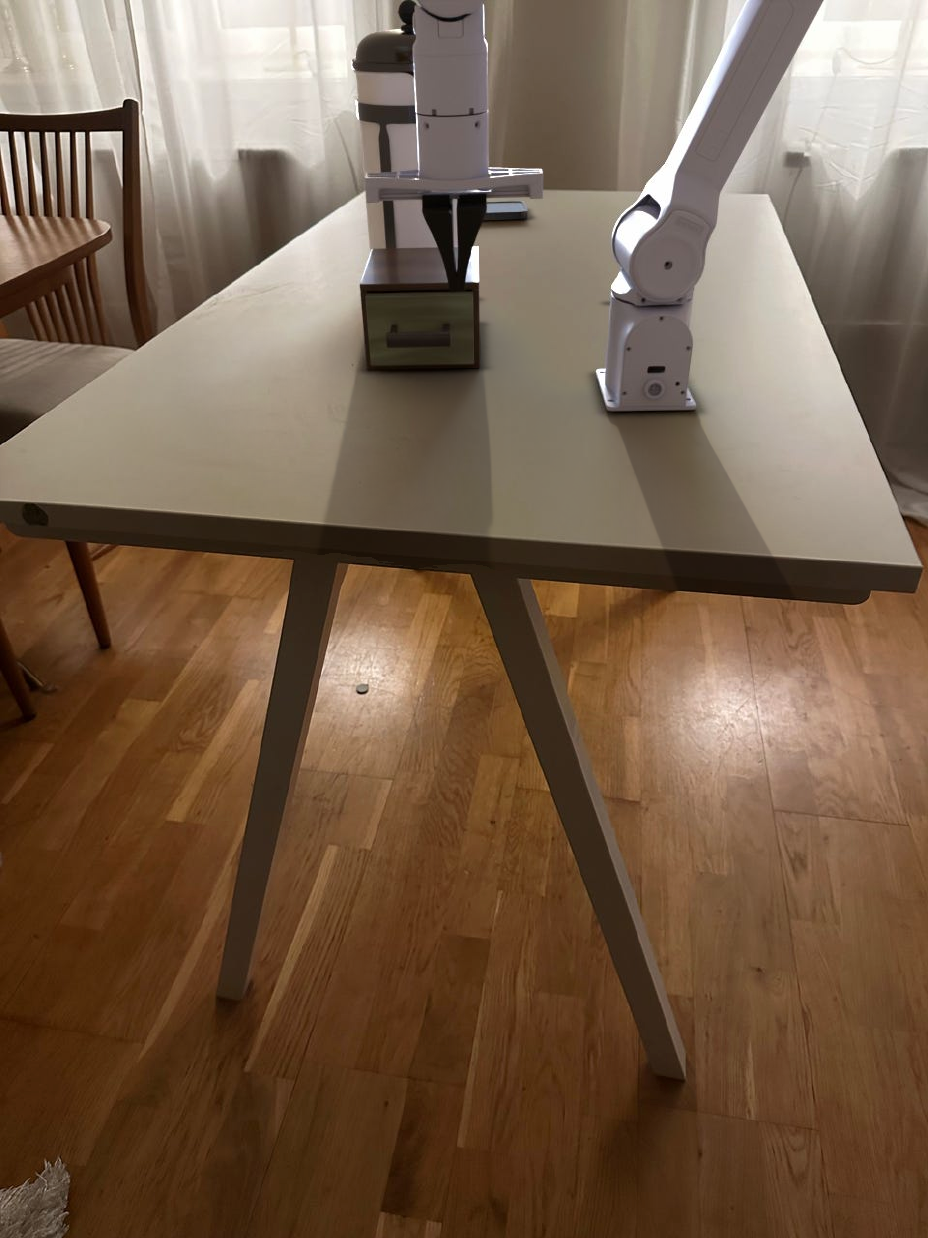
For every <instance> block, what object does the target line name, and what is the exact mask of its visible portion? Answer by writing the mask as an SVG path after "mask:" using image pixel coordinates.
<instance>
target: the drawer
mask: <svg viewBox="0 0 928 1238" xmlns="http://www.w3.org/2000/svg"><path fill="white" fill-rule="evenodd" d="M365 299H366V311H367V323H368V335H369V347H370V360H371V366H388V365H447V364H474V328H473V292H468V290H465V291H464V292H449V290H421V291H374V293H370V294H366V297H365Z"/></svg>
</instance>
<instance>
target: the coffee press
mask: <svg viewBox="0 0 928 1238" xmlns="http://www.w3.org/2000/svg"><path fill="white" fill-rule="evenodd" d="M415 5H418V4H417V3H416V1H415V0H403V1H402V2H401V3H400V4H399V6H398V11H397V14H398V17H399V20H400V21H401V22H402V23H403V24H402V25H401V26H400V28H397V29H385V30H378V31H374V32H372V33H369V34H367V35H366V36H364V37H363V38H362V39H361V40H360V41H359V43H358V44H357V46H356V49H355V56H354V58H352V59H351V61H350V63H351V69H352V71H353V73H354V74H355V79H356V91H357V99H356V100H355V105H356V117H357V119H358V120H359V129H360V142H361V143H360V144H361V152H362V153H361V155H362V167H363V168H362V169H363V180H364V178H365V176H366V174H367V173H385V172H397V171H408V170H419V164H418V144H417V123H416V105H415V85H414V64H413V44H414V42H415V41H416V35H415V34H414V31H413V13H415ZM363 182H364V183H365V180H364V181H363ZM465 191H470V190H465ZM431 192H439V191H431ZM364 194H365V196H366V192H365V191H364ZM365 205H366V206H365V207H366V218H367V220H366V221H367V231H368V244H369V255H370V254H371V251H372V249H380V248H432V247H437V244H436V242H435V239H434V237H433V235H432V233H431V231H430V229H429V227H428V225H427V223H426V221H425V218H424V216H423V213H422V200H396V201H380V202H379V203H366V202H365ZM453 221H454V247H458V236H457V199H453Z"/></svg>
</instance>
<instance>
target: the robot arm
mask: <svg viewBox="0 0 928 1238" xmlns="http://www.w3.org/2000/svg"><path fill="white" fill-rule="evenodd" d="M416 1H417V3H418V4H419V5H418V4H417V5H415V13H413V31H414V34H415V35H416V41H415V42H414V44H413V64H414V85H415V105H416V123H417V144H418V164H419V170H408V171H397V172H385V173H367V174H366V176H365V178H364V177H363V180H365V182H364V193H365V192H366V195H365V204H366V203H379V202H380V201H396V200H422V213H423V216H424V218H425V221H426V223H427V225H428V227H429V229H430V231H431V233H432V235H433V237H434V239H435V242H436V244H437V247H438V249H439V252H440V255H441V258H442V261H443V264H444V267H445V271H446V275H447V280H448V286H449V292H464V291H465V281H466V274H467V269H468V264H469V260H470V256H471V252H472V249H473V247H475V242H476V240H477V236H478V234H479V231H480V229H481V227H482V224H483V222H484V221H485V220H484V217H485V214H486V211H487V202H488V199H509V198H510V199H515V198H516V199H517V198H529V199H530V200H542V199H543V198H544V171H543V169H542V168H510V167H509V168H508V167H489V166H490V160H489V159H490V156H489V155H490V154H489V152H490V151H489V149H490V148H489V147H490V146H489V140H490V139H489V58H488V57H489V56H488V55H489V54H488V53H489V52H488V50H489V49H488V48H489V46H488V42H487V40H486V39H485V4H484V1H485V0H416ZM824 1H825V0H746V1H745V3H744V5H743V7H742V9H741V11H740V13H739V15H738V17H737V19H736V21H735V23H734V26H733V27H732V29H731V31H730V34H729V35H728V37H727V39H726V41H725V43H724V45H723V47H722V49H721V51H720V53H719V55H718V57H717V60H716V62H715V64H714V65H713V68H712V70H711V71H710V74H709V76H708V77H707V79H706V81H705V84H704V85H703V88H702V90H701V91H700V94H699V95H698V97H697V100H696V102H695V103H694V106H693V108H692V109H691V111H690V114H689V115H688V118H687V119H686V122H685V124H684V126H683V127H682V130H681V132H680V134H679V136H678V138H677V140H676V142H675V144H674V146H673V148H672V150H671V151H670V154H669V155H668V158H667V160H666V162H665V164H664V165H663V166H662V167H661V168H660V169H659V170H658V171H657V172H656V173H655V174H654V175H653V176H652V177H651V178H650V179H649V180H648V182H646V185H645V187H644V189H643V191H642V193H641V194H640V196H639V197H638V199H637V200H636V202H635V203H633V205H631V206H630V207H628V208H627V209H626V210H624V212H623V213H621V215H620V216H619V218H618V219H617V220H616V222H615V225H614V227H613V229H612V233H611V238H610V245H611V247H610V248H611V253H612V255H613V257H614V260H615V262H616V263H617V264H618V266H620V267H621V268H620V271H619V273H618V275H617V277H616V278H615V279H614V281H613V283H612V284H611V288H610V301H609V302H610V303H609V304H610V305H609V314H608V315H609V317H608V328H607V340H606V341H607V342H606V346H607V347H606V354H605V355H606V356H605V368H598V369H596V371H595V375H596V378H597V383H598V386H599V389H600V392H601V396H602V398H603V399H602V400H603V402H604V405H605V408H606V410H607V411H608V412H649V411H651V412H652V411H657V412H658V411H659V412H660V411H661V412H662V411H694V410H696V409H697V403H696V401H695V399H694V397H693V395H692V393H691V391H690V389H689V381H690V380H689V379H690V373H691V364H692V358H693V349H694V337H693V334H692V331H691V327H690V325H691V318H692V312H693V311H692V310H693V302H694V293H695V287H696V285H697V284H698V283H699V280H700V279H701V278H702V275H703V272H704V269H705V264H706V253H707V248H708V244H709V241H710V239H711V236H712V235H713V233H714V232H715V229H716V227H717V223H718V213H719V205H720V196H721V193H722V191H723V188H724V187H725V185H726V183H727V181H728V179H729V178H730V176H731V174H732V172H733V171H734V169H735V166H736V165H737V162H738V161H739V159H740V157H741V155H742V153H743V151H745V150H744V149H745V148H746V146H747V144H748V142H749V140H750V139H751V137H752V135H753V133H754V131H755V129H756V127H757V125H758V124H759V122H760V120H761V118H762V115H763V114H764V113H765V111H766V109H767V107H768V106H769V103H770V101H771V100H772V98H773V95H774V94H775V92H776V90H777V88H778V86H779V84H780V82H781V81H782V79H783V78H784V75H785V74H786V72H787V70H788V68H789V66H790V64H791V62H792V61H793V58H794V56H795V55H796V53H797V51H798V50H799V47H800V45H801V44H802V43H803V40H804V38H805V37H806V34H807V33H808V31H809V29H810V27H811V25H812V24H813V21H814V19H815V17H816V16H817V14H818V12H819V10H820V9H821V7H822V4H823V3H824ZM465 190H469V191H465ZM431 191H439V192H431ZM453 199H457V236H458V265H457V267H456V258H455V249H454V221H453Z"/></svg>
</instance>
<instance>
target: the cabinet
mask: <svg viewBox="0 0 928 1238" xmlns="http://www.w3.org/2000/svg"><path fill="white" fill-rule="evenodd" d="M454 249H455V258H456V267H457V265H458V247H454ZM479 252H480V251H479V246H473V249H472V252H471V256H470V260H469V264H468V269H467V274H466V281H465V290H468V292H473V328H474V364H447V365H388V366H371V360H370V347H369V335H368V323H367V311H366V299H365V297H366V294H370V293H374V291H421V290H449V286H448V280H447V275H446V271H445V267H444V264H443V261H442V258H441V255H440V252H439V249H438V247H432V248H380V249H372V251H371V254H370V253H369V257H368V260H367V262H366V266H365V268H364V271H363V274H362V277H361V279H360V282H359V291H360V292H359V294H360V295H359V296H360V305H361V306H360V307H361V315H362V316H361V319H362V331H363V341H364V352H365V362H366V364H365V365H366V370H367V371H372V370H374V371H375V370H429V369H431V370H435V369H438V370H439V369H480V368H481V333H480V329H481V328H480V327H481V326H480V325H481V324H480V323H481V322H480V319H481V317H480V256H479V254H480V253H479Z"/></svg>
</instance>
